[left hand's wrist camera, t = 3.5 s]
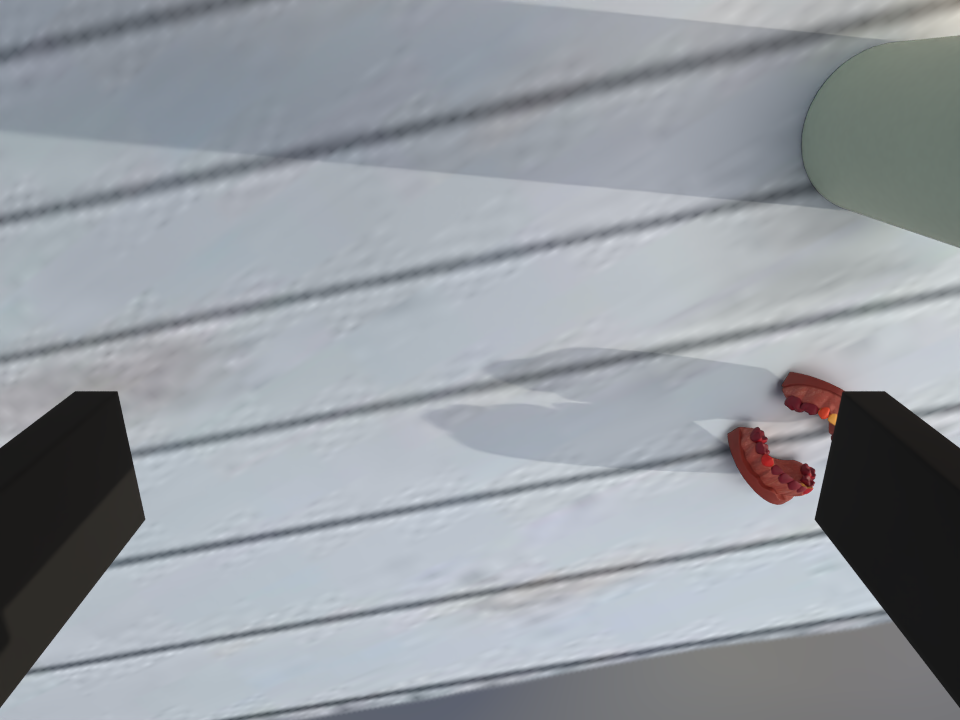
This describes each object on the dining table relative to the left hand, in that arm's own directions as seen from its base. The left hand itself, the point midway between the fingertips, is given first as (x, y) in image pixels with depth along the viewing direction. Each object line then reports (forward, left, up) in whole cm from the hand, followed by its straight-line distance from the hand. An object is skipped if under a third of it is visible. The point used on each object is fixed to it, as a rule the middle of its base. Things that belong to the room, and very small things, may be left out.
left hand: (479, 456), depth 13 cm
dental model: (+14, +20, -28) cm, 37 cm away
